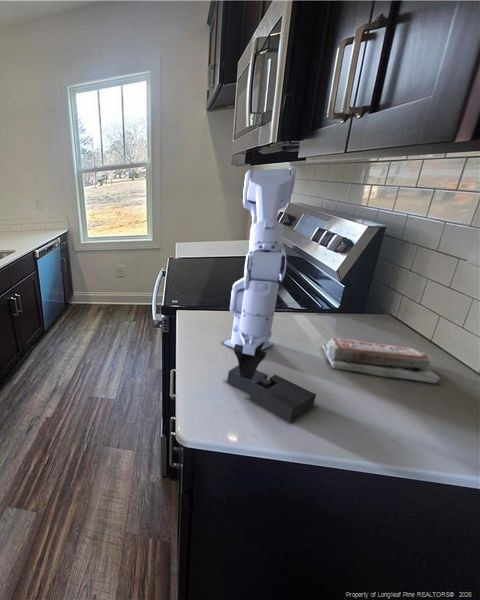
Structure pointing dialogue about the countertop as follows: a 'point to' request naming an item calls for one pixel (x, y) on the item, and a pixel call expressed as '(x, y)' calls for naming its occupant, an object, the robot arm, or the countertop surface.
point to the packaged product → (379, 360)
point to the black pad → (283, 398)
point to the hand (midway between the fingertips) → (248, 368)
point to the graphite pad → (248, 380)
